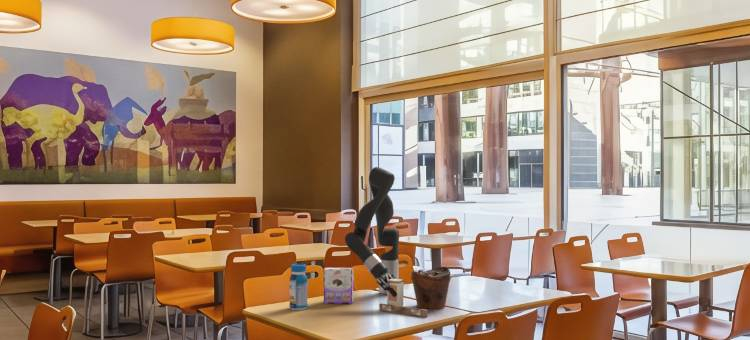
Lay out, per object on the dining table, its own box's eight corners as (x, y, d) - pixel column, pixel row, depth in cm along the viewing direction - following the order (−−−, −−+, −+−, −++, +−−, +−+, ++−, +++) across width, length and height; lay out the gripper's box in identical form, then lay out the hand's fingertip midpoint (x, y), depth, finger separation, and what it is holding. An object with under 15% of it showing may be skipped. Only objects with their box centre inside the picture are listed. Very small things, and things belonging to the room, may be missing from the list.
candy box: (353, 301, 310) (353, 267, 310) (352, 304, 304) (352, 269, 304) (325, 301, 311) (325, 266, 311) (323, 303, 305) (323, 268, 306)
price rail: (379, 310, 290) (379, 304, 290) (380, 310, 291) (380, 303, 291) (425, 317, 276) (425, 310, 276) (427, 316, 277) (427, 309, 277)
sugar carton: (387, 306, 292) (387, 280, 292) (392, 304, 297) (392, 278, 297) (398, 308, 290) (398, 281, 290) (403, 305, 295) (403, 279, 295)
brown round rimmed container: (403, 308, 294) (404, 268, 294) (421, 300, 312) (421, 263, 312) (439, 312, 286) (440, 272, 286) (455, 305, 304) (456, 267, 304)
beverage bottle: (304, 310, 289) (304, 266, 289) (286, 310, 291) (286, 265, 291) (310, 307, 297) (310, 263, 298) (292, 306, 299) (292, 263, 299)
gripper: (373, 263, 291) (396, 292, 285) (388, 259, 303) (411, 287, 298) (363, 273, 293) (386, 302, 288) (378, 269, 306) (400, 297, 300)
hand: (398, 294), depth 293 cm, fingers closed on sugar carton, 5 cm apart
